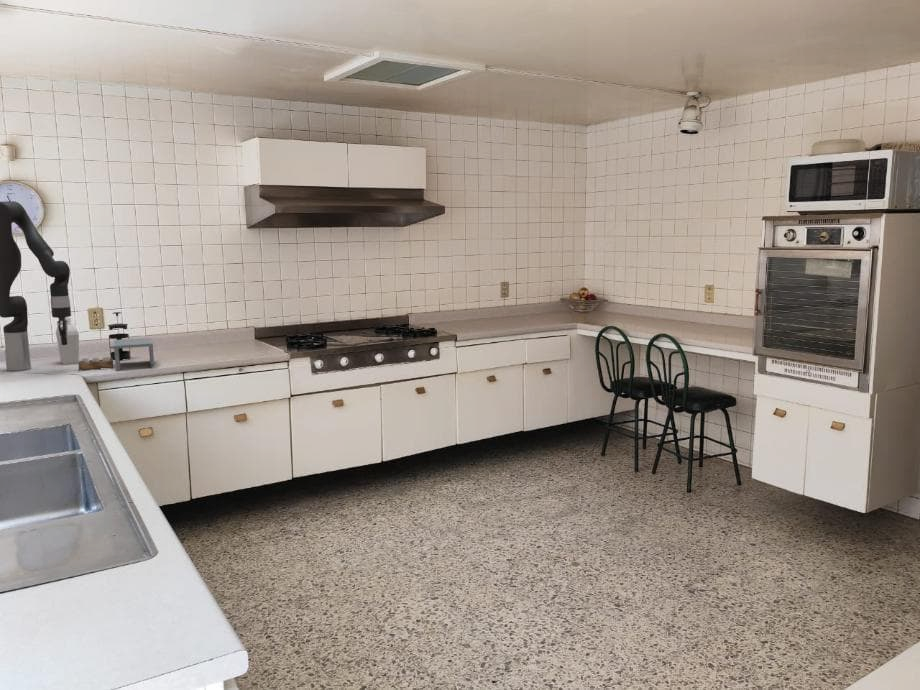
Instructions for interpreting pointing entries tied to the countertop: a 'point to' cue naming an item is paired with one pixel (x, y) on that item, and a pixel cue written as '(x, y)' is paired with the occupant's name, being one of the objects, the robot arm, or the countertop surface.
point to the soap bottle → (69, 344)
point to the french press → (119, 337)
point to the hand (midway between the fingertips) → (64, 344)
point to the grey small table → (129, 344)
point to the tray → (95, 363)
